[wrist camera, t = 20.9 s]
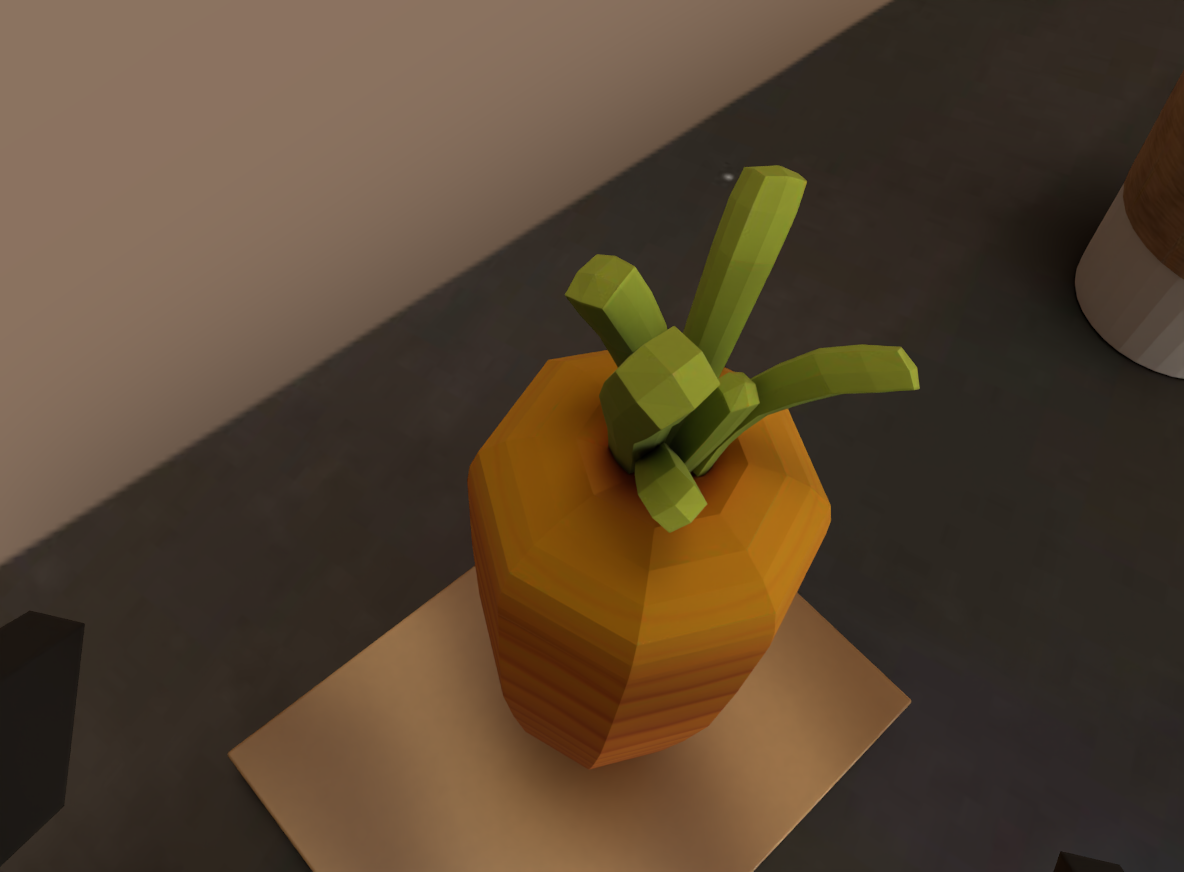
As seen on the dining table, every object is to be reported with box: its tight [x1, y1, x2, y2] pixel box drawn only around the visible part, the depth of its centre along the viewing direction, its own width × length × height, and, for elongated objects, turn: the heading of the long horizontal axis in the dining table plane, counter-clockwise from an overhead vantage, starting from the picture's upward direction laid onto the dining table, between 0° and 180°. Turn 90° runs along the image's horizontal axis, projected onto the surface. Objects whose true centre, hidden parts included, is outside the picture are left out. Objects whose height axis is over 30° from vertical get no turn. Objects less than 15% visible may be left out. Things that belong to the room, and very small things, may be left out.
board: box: [228, 566, 911, 872], centre depth 23 cm, size 12×9×2 cm
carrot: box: [467, 165, 920, 769], centre depth 16 cm, size 5×5×15 cm
